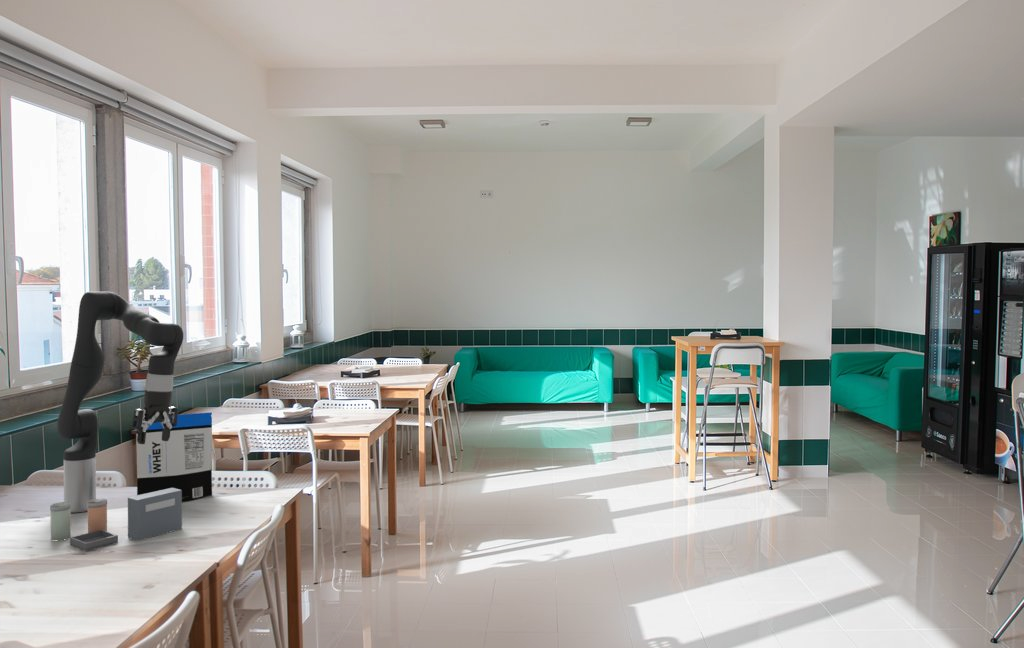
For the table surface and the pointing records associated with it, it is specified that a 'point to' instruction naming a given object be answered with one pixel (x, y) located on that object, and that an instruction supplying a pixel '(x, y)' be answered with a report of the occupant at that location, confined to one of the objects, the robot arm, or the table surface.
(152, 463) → the protein powder
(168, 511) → the dark grey unit
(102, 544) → the charcoal tray
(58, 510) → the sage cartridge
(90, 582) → the table surface
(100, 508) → the cylinder
